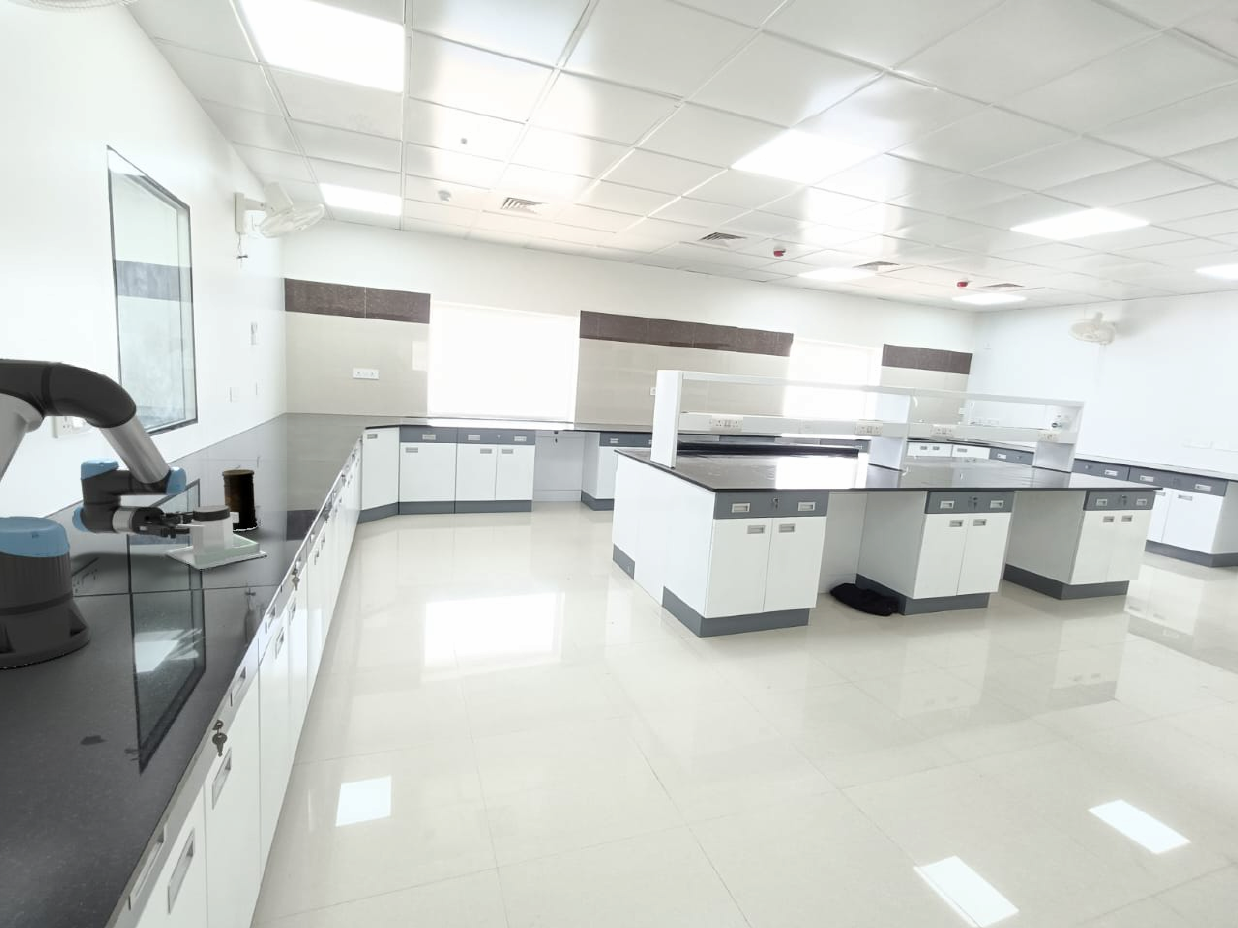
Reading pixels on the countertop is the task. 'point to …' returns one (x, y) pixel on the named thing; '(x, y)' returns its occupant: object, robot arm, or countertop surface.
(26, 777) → the countertop surface
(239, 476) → the container
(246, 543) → the holder
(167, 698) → the countertop surface
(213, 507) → the jar
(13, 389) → the robot arm
